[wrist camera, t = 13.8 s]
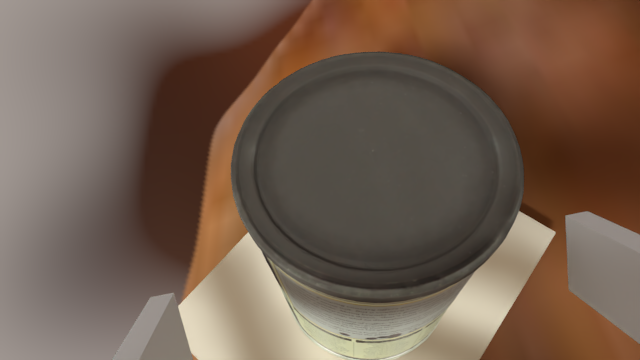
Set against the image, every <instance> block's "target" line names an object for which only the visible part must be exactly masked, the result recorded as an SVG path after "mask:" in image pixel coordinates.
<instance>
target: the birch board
mask: <svg viewBox="0 0 640 360" xmlns="http://www.w3.org/2000/svg"><path fill="white" fill-rule="evenodd" d="M555 233H556V232H554V231H553V230H551V229H549V228H548V227H546V226H544V225H542V224H541V223H539V222H537V221H535V220H534V219H532V218H530V217H529V216H527V215H525V214H523V213H522V212H520V211H519V212H518V215H517V217H516V219H515V222H514V224H513V226H512V227H511V229H510V231H509V233H508V235H507V237H506V238H505V240H504V241H503V243H502V244H501V245H500V246H499V248H498V249H497V250H496V251H495V252H494V253H493V254H492V256H491V257H490V258H489V259H488V260H487V261H486V262H485V263H484V264H483V265H482V266H481V267H479V268H478V269H477V270H476V271H475V272H474V274H473V275H472V276H471V278H470V279H469V280H468V282H467V283H466V284H465V286H464V287H463V289H462V290H461V291H460V293H459V294H458V295H457V297H456V298H455V300H454V301H453V303H452V304H451V305H450V306H449V308H448V309H447V310H446V312H445V313H444V315H443V316H442V318H441V320H440V322H439V324H438V325H437V327H436V329H435V330H434V331H433V332H432V334H431V335H430V336H429V337H428V339H427V340H426V341H424V342H423V343H422V344H421V345H419V346H418V347H417V348H415V349H414V350H412V351H411V352H409V353H407V354H405V355H403V356H401V357H399V358H396V359H392V360H479V359H480V358H481V356H482V354H483V353H484V351H485V349H486V348H487V346H488V344H489V343H490V341H491V339H492V338H493V336H494V334H495V333H496V331H497V329H498V328H499V326H500V325H501V323H502V321H503V320H504V318H505V316H506V315H507V313H508V311H509V310H510V308H511V306H512V305H513V303H514V301H515V300H516V298H517V296H518V295H519V293H520V291H521V290H522V288H523V286H524V285H525V283H526V281H527V280H528V278H529V276H530V275H531V273H532V271H533V270H534V268H535V266H536V265H537V263H538V261H539V260H540V258H541V257H542V255H543V253H544V252H545V250H546V248H547V247H548V245H549V243H550V242H551V240H552V238H553V237H554V235H555ZM178 309H179V312H180V316H181V319H182V323H183V326H184V330H185V333H186V337H187V340H188V344H189V347H190V351H191V353H192V354H193V355H194V356H195V357H196V358H197V359H198V360H345V359H342V358H340V357H337V356H335V355H332V354H330V353H328V352H327V351H325V350H323V349H322V348H320V347H319V346H317V345H316V344H315V343H314V342H312V341H311V340H310V339H309V338H308V337H307V336H306V335H305V334H304V332H303V331H302V330H301V329H300V327H299V325H298V324H297V322H296V320H295V319H294V317H293V315H292V313H291V310H290V308H289V305H288V303H287V301H286V299H285V297H284V294H283V292H282V290H281V288H280V286H279V284H278V282H277V280H276V278H275V276H274V274H273V272H272V271H271V269H270V267H269V265H268V263H267V262H266V259H265V257H264V255H263V253H262V251H261V249H260V248H259V247H258V246H257V245H256V243H255V242H254V240H253V239H252V237H251V236H250V234H249V232H248V233H247V234H246V235H245V236H244V237H243V238H242V239H241V241H240V242H239V243H238V244H237V245H236V246H235V247H234V248H233V249H232V250H231V251H230V252H229V253H228V254H227V255H226V256H225V257H224V258H223V260H222V261H221V262H220V263H219V264H218V265H217V266H216V267H215V268H214V269H213V270H212V271H211V272H210V273H209V274H208V275H207V276H206V278H205V279H204V280H203V281H202V282H201V283H200V284H199V285H198V286H197V287H196V288H195V289H194V290H193V291H192V292H191V293H190V294H189V295H188V297H187V298H186V299H185V300H184V301H183V302H182V303H181V304H180V305H179V306H178Z"/></svg>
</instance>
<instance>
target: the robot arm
mask: <svg viewBox="0 0 640 360" xmlns="http://www.w3.org/2000/svg"><path fill="white" fill-rule="evenodd" d="M565 219H566V241H567V262H568V284H569V290H570V291H571V292H572V293H574V294H575V295H576V296H578V297H579V298H580V299H581V300H583V301H584V302H585V303H587V304H588V305H589V306H591V307H592V308H593V309H595V310H596V311H597V312H599V313H600V314H601V315H603V316H604V317H605V318H606V319H608V320H609V321H610V322H612V323H613V324H614V325H616V326H617V327H618V328H620V329H621V330H622V331H624V332H625V333H626V334H627V335H629V336H630V337H631V338H633V339H634V340H635V341H637V342H638V343H639V344H640V235H639V234H637V233H635V232H633V231H630V230H628V229H626V228H624V227H622V226H619V225H617V224H615V223H613V222H610V221H608V220H606V219H604V218H602V217H599V216H597V215H595V214H593V213H591V212H588V211H586V212H581V213H576V214H571V215H566V216H565ZM112 360H193V358H192V354H191V351H190V347H189V344H188V340H187V337H186V333H185V330H184V326H183V323H182V319H181V316H180V312H179V309H178V305H177V302H176V298H175V295H174V293H170V294H165V295H160V296H155V297H150V299H149V301H148V302H147V304H146V306H145V307H144V309H143V310H142V312H141V314H140V315H139V317H138V318H137V320H136V322H135V323H134V325H133V327H132V328H131V330H130V331H129V333H128V335H127V336H126V338H125V340H124V341H123V343H122V344H121V346H120V348H119V349H118V351H117V353H116V354H115V356H114V357H113V359H112Z"/></svg>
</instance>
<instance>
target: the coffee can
mask: <svg viewBox="0 0 640 360" xmlns="http://www.w3.org/2000/svg"><path fill="white" fill-rule="evenodd" d="M231 181H232V190H233V196H234V200H235V203H236V207H237V210H238V212H239V215H240V218H241V220H242V221H243V223H244V225H245V227H246V229H247V231H248V232H249V234H250V236H251V237H252V239H253V240H254V242H255V243H256V245H257V246H258V247H259V248H260V249H261V251H262V253H263V255H264V257H265V259H266V262H267V263H268V265H269V267H270V269H271V271H272V272H273V274H274V276H275V278H276V280H277V282H278V284H279V286H280V288H281V290H282V292H283V294H284V297H285V299H286V301H287V303H288V305H289V308H290V310H291V313H292V315H293V317H294V319H295V320H296V322H297V324H298V325H299V327H300V329H301V330H302V331H303V332H304V334H305V335H306V336H307V337H308V338H309V339H310V340H311V341H312V342H314V343H315V344H316V345H317V346H319V347H320V348H322V349H323V350H325V351H327V352H328V353H330V354H332V355H335V356H337V357H340V358H342V359H345V360H392V359H396V358H399V357H401V356H403V355H405V354H407V353H409V352H411V351H412V350H414V349H415V348H417V347H418V346H419V345H421V344H422V343H423V342H424V341H426V340H427V339H428V337H429V336H430V335H431V334H432V332H433V331H434V330H435V329H436V327H437V325H438V324H439V322H440V320H441V318H442V316H443V315H444V313H445V312H446V310H447V309H448V308H449V306H450V305H451V304H452V303H453V301H454V300H455V298H456V297H457V295H458V294H459V293H460V291H461V290H462V289H463V287H464V286H465V284H466V283H467V282H468V280H469V279H470V278H471V276H472V275H473V274H474V272H475V271H476V270H477V269H478V268H479V267H481V266H482V265H483V264H484V263H485V262H486V261H487V260H488V259H489V258H490V257H491V256H492V254H493V253H494V252H495V251H496V250H497V249H498V248H499V246H500V245H501V244H502V243H503V241H504V240H505V238H506V237H507V235H508V233H509V231H510V229H511V227H512V226H513V224H514V222H515V219H516V217H517V215H518V212H519V209H520V206H521V201H522V196H523V190H524V168H523V160H522V156H521V151H520V147H519V144H518V142H517V139H516V136H515V134H514V132H513V130H512V128H511V126H510V124H509V121H508V120H507V118H506V117H505V115H504V114H503V113H502V111H501V110H500V108H499V107H498V106H497V105H496V104H495V103H494V101H493V100H492V99H491V98H490V97H489V96H488V95H487V94H486V93H485V92H484V91H482V90H481V89H480V88H479V87H478V86H476V85H475V84H474V83H472V82H471V81H469V80H468V79H466V78H465V77H463V76H461V75H460V74H458V73H456V72H454V71H453V70H451V69H449V68H447V67H445V66H442V65H440V64H438V63H435V62H433V61H430V60H427V59H423V58H420V57H416V56H412V55H407V54H401V53H389V52H361V53H351V54H344V55H339V56H334V57H330V58H327V59H324V60H320V61H318V62H315V63H313V64H310V65H308V66H306V67H304V68H301V69H299V70H298V71H296V72H294V73H292V74H291V75H289V76H288V77H286V78H284V79H283V80H281V81H280V82H279V83H278V84H277V85H275V86H274V87H273V88H271V89H270V90H269V91H268V92H267V93H266V94H265V95H264V96H263V97H262V98H261V99H260V100H259V101H258V103H257V104H256V105H255V106H254V107H253V109H252V110H251V112H250V113H249V115H248V116H247V118H246V119H245V121H244V123H243V125H242V128H241V130H240V132H239V134H238V137H237V139H236V142H235V145H234V150H233V155H232V162H231Z"/></svg>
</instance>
